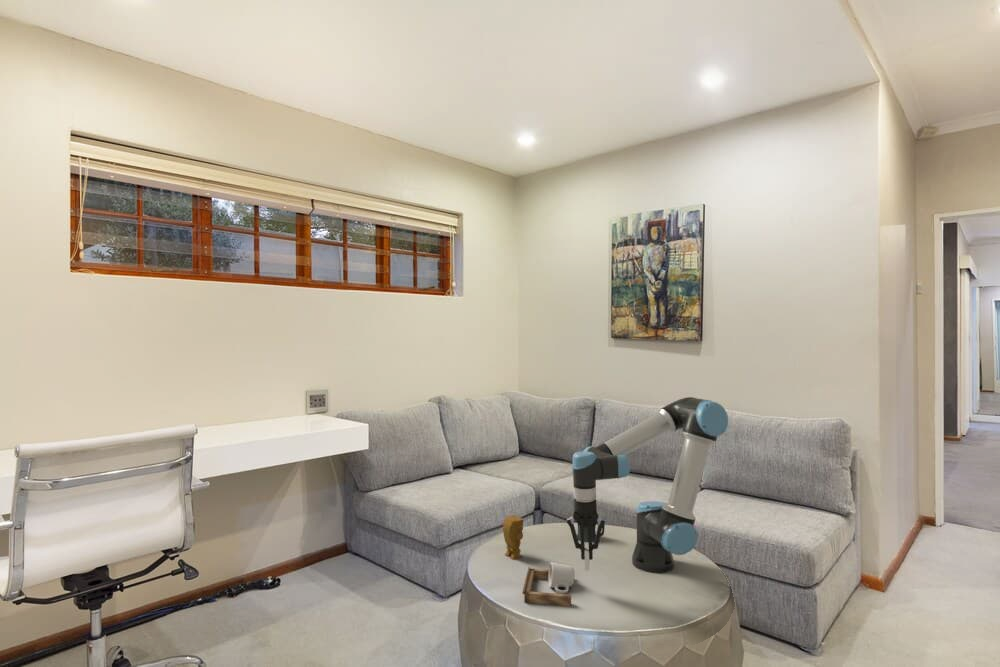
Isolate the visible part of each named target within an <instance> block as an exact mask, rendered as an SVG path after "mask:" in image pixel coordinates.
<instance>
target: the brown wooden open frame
mask: <svg viewBox="0 0 1000 667" xmlns="http://www.w3.org/2000/svg"><path fill="white" fill-rule="evenodd" d="M526 572H527V573H526V577H525V581H524V585H523V588H522V595H524V598H523V599H524V601H523V602H524V603H527V604H540V605H553V606H563V605H564V606H565V607H571V606H572V594H568V593H565V594H560V593H557V592H541V591H540V592H539V591H532V590H533V586H534V580H549V579H548V574H549V569H542V568H531V566H528V568H527V571H526Z"/></svg>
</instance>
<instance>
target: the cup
mask: <svg viewBox="0 0 1000 667" xmlns="http://www.w3.org/2000/svg"><path fill="white" fill-rule="evenodd" d="M548 570H549V574H548V579H547V580H548V586H549V588H551V589H553V588H554V590H555V593H557V594H568V592H569V590H570V589H569V588H570V587H573V585H574V583H575V569H574V567H573V566H571V565H567V564H564V563H562V564H561V563H558V562H557V563H556V562H552V561H551V562H550V563H549V566H548ZM559 588H564V589H563V590H562V589H559Z"/></svg>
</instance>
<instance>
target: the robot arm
mask: <svg viewBox="0 0 1000 667" xmlns="http://www.w3.org/2000/svg"><path fill="white" fill-rule="evenodd" d="M657 411H658V412H657V413H656V414H654V415H652V416H651V417H648V418H647V419H645V420H642V421H641V422H639V423H638V424H635V425H634V426H632V427H630V428H629V429H627V430H625V431H623V432H621V433H620V434H618V435H616V436H613V437H612V438H611V439H608V440H606V441H605V442H602V443H601V444H598V445H597V446H587V447H585V448H584V450H583V451H582V450H581V451H576V452H575V453H574V454H573V456H572V465H571V466H572V479H573V481H572V482H573V483H572V484H573V486H572V487H573V490H572V491H573V498H574V499H573V513H572V516H570V517H567V519H566V524H567V526H568V527H569V529H570V533H571V536H572V539H573V543H574V548H575V549H579V550H580V559H581V560H584V570H585V571H586V572H587V571H589V572H590V560H591V561H593V559H594V558H593V551H594V550H598V548H599V543H600V539H601V537H600V535H601V533H602V527H603V526H604V524H606V522H605V518H601V517H600V516H599V514H598V509H597V504H598V503H597V481H601V480H603V481H604V480H614V479H618V480H619V479H623V478H626V477H628V476H629V474H630V472H631V471H630V470H631V465H630V462H629V459H628V457H627V455H628V454H630V453H632V452H634V451H635V450H637V449H639V448H641V447H642V446H645V445H647V444H648V443H650V442H652V441H653V440H656V439H657V438H659V437H661V436H663V435H665V434H666V433H668V432H669V433H675V432H676V431H678V430H681V429H682V434H683V436H684V442H683V445H682V449H681V453H680V457H679V460H678V465H677V467H676V470H675V475H674V479H673V482H672V486H671V490H670V494H669V497H668V500H667V502H665V501H664V502H663V501H656V500H655V501H653V500H649V501H642V502H640V503H638V504H637V505H636V513H635V514H636V544H635V546H634V549H633V551H632V552H633V553H632V556H631V564H632V565H633V566H634V567H635V568H636V569H638V570H640V571H644V572H647V573H655V574H663V573H667V572H671V571H672V570H673V569H674V567H675V559H674V556H673V555H676V556H682V555H686V554H687V553H690V552H691V551H692V550H693V549H694V548H695V546H696V545H697V544H698V543H697V542H698V538H699V536H698V532H697V529H696V527H694V526H695V522H696V516H695V514H694V513H693V511H694V507H695V504H696V500H697V496H698V492H699V490H700V489H699V488H700V485H701V481H702V478H703V473H704V470H705V465H706V463H707V459H708V455H709V451H710V449H711V448H710V447H711V446H712V445H714V444H716V443H717V439H718V437H719V436H722V434H724V433H725V432H726V430H727V429H728V426H729V416H728V412H727V411H726V409H725V408H724V406H723V405H721V404H720V403H718V402H716V401H712V400H711V399H710V400H709V399H703V398H697V397H694V396H693V397H690V396H689V397H687V396H686V397H683V398H679V399H677V400H675V401H673V402H671V403H669V404H667V405H665V406H663V407H662V408H659V409H658V410H657ZM596 521H598V525H597V529H596V537H595V541H594V542H592V526H593V525H594V524H595V522H596ZM575 522H576V523H577V526H578V525H579V526H580V535H581V541H578V538H577V534H578V533H577V531H576V528H575ZM584 527H588V542H587V543H588V547H585V545H586V544H585V542H584Z"/></svg>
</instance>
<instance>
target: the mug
mask: <svg viewBox="0 0 1000 667" xmlns="http://www.w3.org/2000/svg"><path fill="white" fill-rule="evenodd" d="M605 524H606V523H605ZM605 524H604V526H603V527H602V530H601V535H600V538H602V537H603V536H604V534H605ZM596 526H598V520H597V521H596V522H595V524H594V525H593V526H592V543H594V542H595V537H596V533H597V531H596ZM576 534H577V538H578V541H579V542H581V535H580V526H579V525H578V524H577V533H576ZM584 543H589V542H588V527H584Z"/></svg>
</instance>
